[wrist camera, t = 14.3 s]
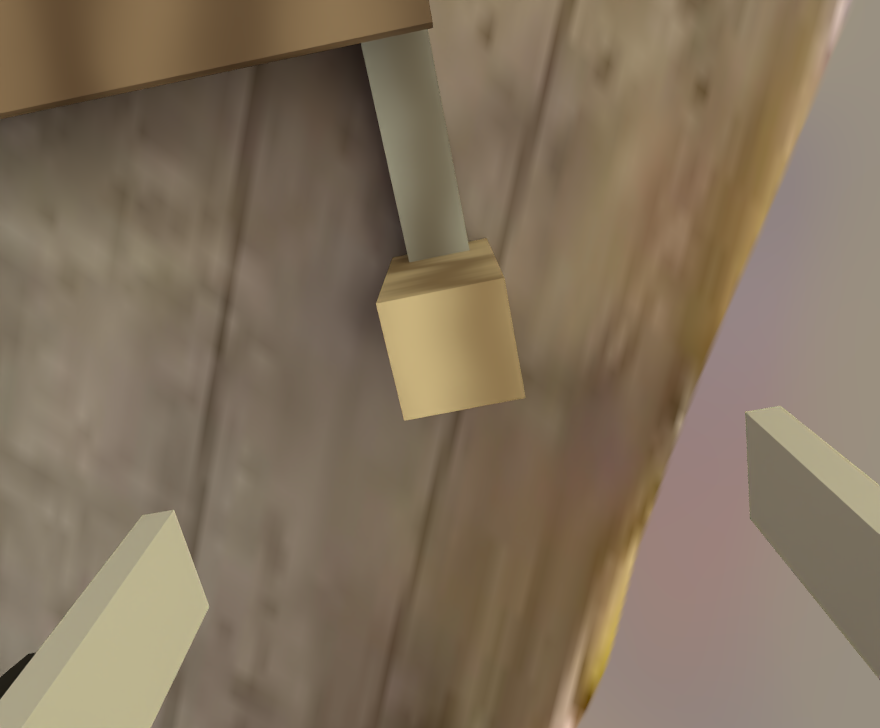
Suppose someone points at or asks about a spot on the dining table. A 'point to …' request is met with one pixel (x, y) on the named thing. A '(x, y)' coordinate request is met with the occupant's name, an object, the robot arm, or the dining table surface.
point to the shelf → (171, 41)
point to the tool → (435, 252)
